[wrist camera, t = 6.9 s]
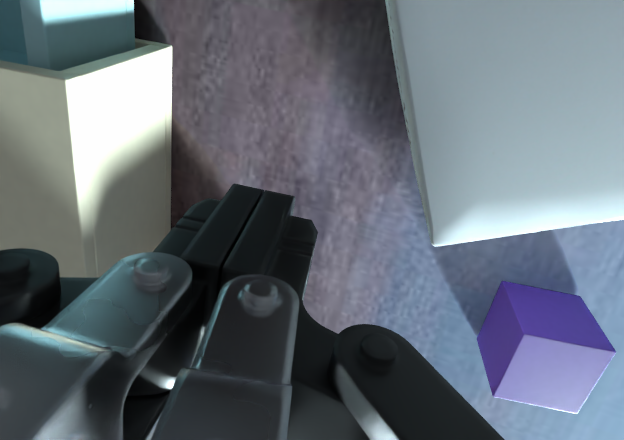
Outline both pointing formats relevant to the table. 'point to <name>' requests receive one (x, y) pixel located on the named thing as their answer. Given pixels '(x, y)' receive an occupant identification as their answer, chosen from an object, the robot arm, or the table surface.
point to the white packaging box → (512, 112)
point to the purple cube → (542, 347)
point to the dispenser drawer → (64, 31)
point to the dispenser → (87, 158)
